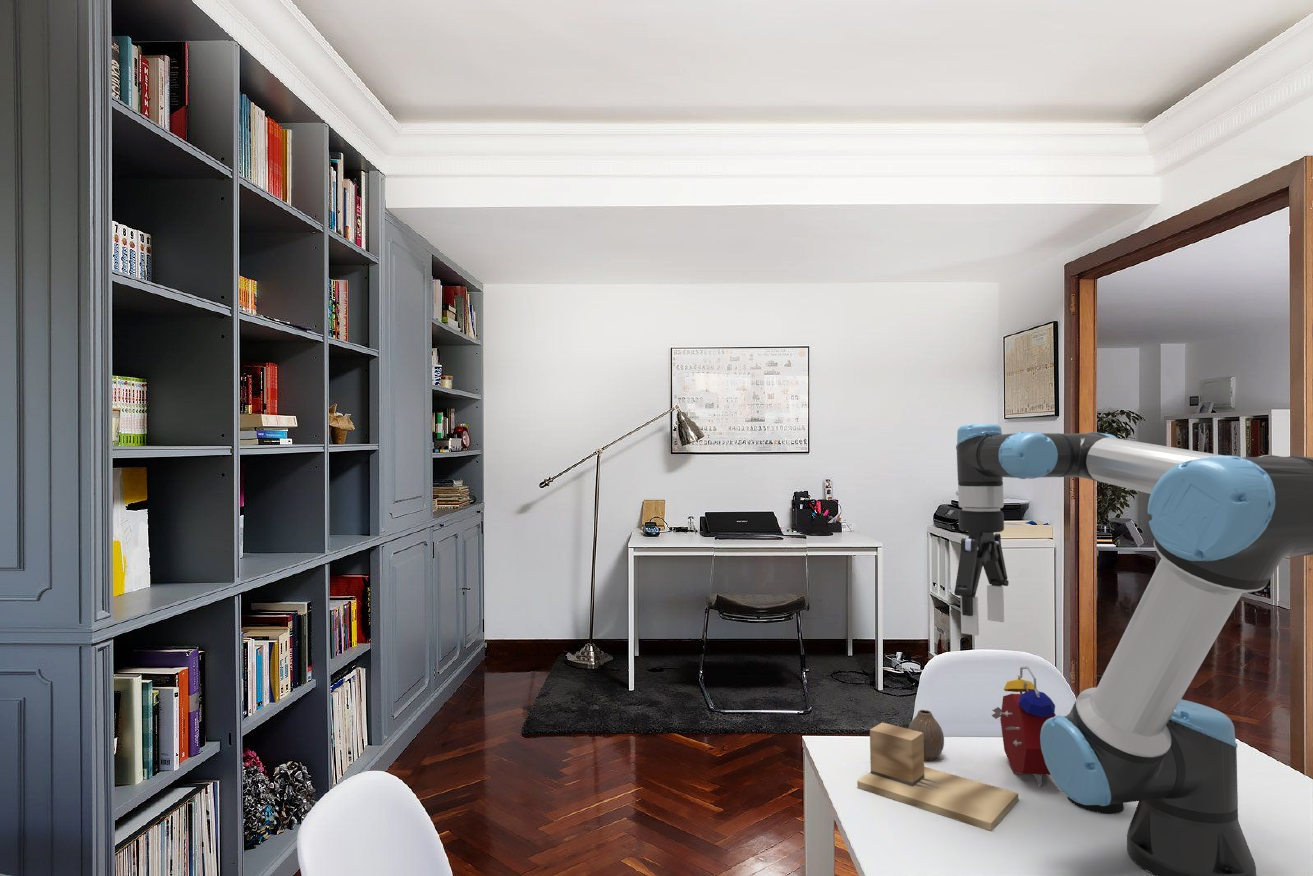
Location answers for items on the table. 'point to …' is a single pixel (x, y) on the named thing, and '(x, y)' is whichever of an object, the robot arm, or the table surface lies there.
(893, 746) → the wooden block
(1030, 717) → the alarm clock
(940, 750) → the vase
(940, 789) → the board
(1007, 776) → the table surface
